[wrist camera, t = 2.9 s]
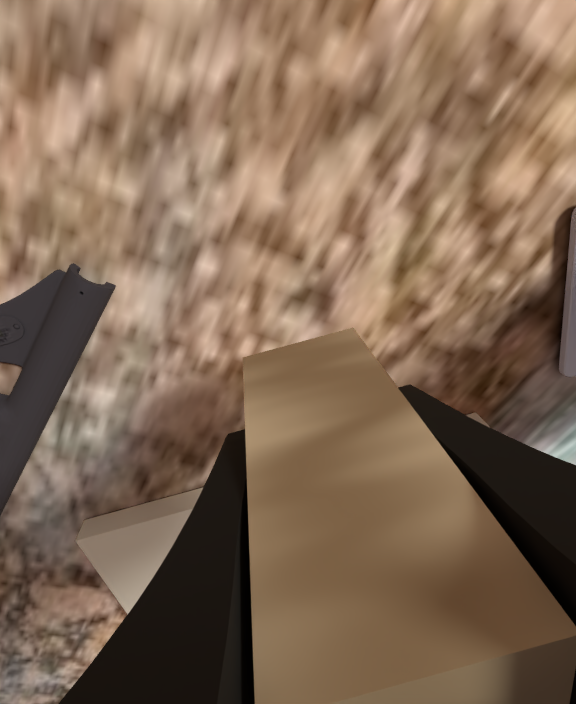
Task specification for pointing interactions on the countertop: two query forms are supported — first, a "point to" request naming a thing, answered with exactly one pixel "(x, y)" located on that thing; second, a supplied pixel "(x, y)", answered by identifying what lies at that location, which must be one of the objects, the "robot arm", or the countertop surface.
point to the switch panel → (139, 541)
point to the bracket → (42, 359)
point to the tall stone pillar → (380, 550)
